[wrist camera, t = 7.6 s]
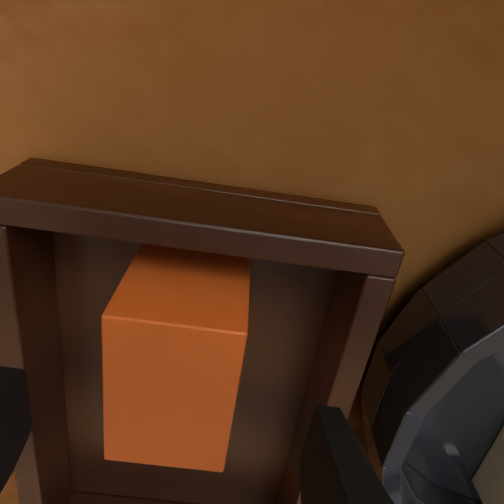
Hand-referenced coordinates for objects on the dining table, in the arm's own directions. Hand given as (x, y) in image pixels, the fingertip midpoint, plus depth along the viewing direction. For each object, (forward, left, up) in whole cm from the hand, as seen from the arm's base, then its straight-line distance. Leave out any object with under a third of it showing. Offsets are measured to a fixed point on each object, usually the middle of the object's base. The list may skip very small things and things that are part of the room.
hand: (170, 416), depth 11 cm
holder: (-3, 0, -5) cm, 6 cm away
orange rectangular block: (0, 0, -4) cm, 4 cm away
